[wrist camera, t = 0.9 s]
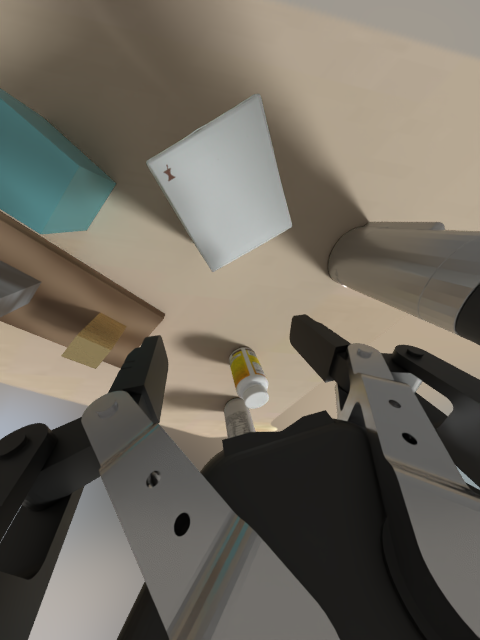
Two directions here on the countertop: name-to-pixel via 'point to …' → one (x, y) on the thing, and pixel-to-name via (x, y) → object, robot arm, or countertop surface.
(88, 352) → the pale yellow block
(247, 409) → the energy drink can
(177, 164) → the supplement box
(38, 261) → the board
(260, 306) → the countertop surface
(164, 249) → the countertop surface
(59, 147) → the teal block
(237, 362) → the supplement bottle
